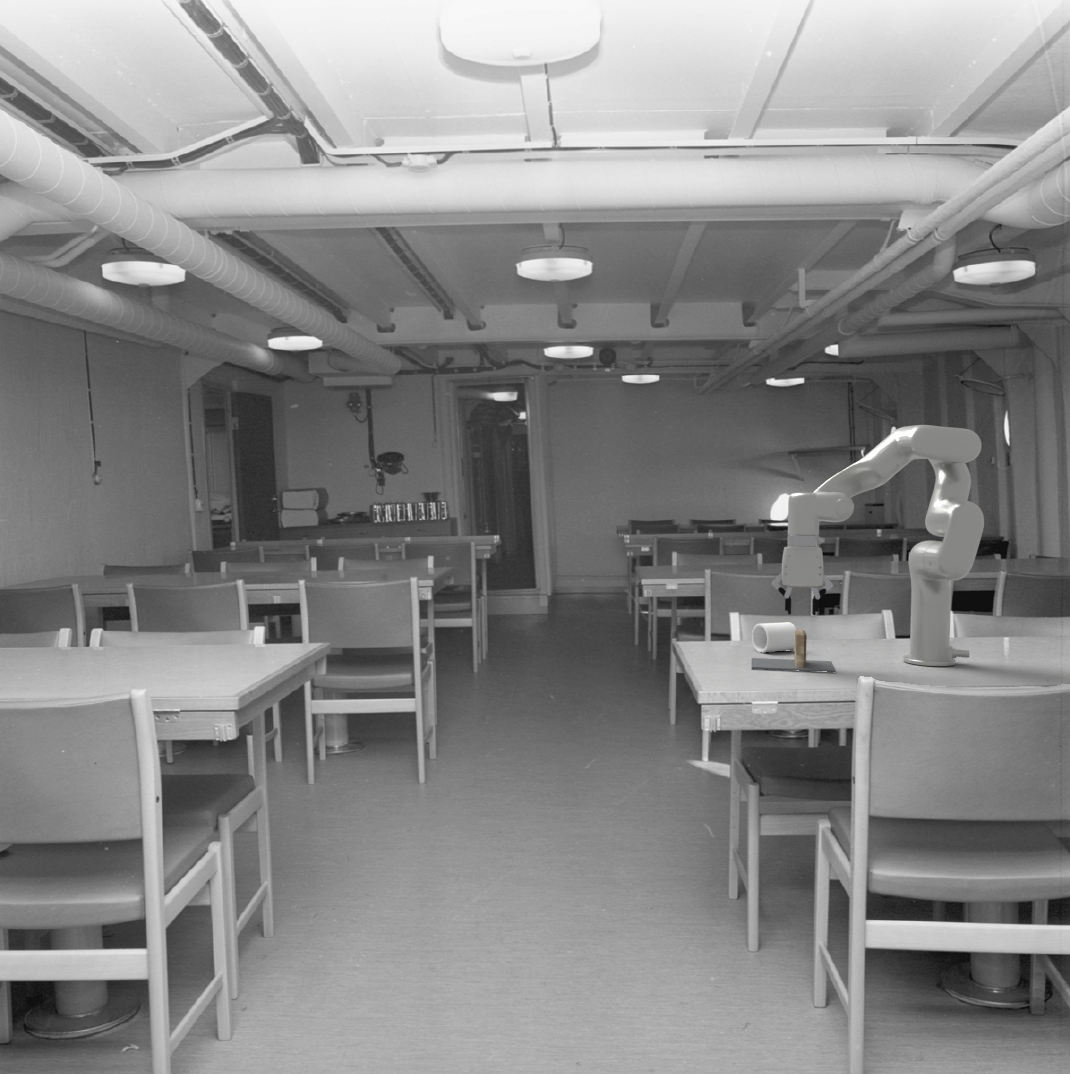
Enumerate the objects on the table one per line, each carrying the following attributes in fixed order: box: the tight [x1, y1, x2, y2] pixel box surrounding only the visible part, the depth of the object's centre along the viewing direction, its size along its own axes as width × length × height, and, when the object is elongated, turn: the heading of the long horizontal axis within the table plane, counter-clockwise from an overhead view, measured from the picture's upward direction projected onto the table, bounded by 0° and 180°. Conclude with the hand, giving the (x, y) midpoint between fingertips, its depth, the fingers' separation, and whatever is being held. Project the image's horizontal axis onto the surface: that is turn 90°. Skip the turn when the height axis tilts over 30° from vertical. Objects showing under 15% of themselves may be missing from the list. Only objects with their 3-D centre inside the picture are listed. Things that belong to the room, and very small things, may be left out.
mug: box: [751, 621, 798, 654], centre depth 276 cm, size 12×10×8 cm
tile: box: [793, 629, 807, 668], centre depth 250 cm, size 2×9×8 cm, turn 168°
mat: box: [751, 657, 837, 673], centre depth 251 cm, size 20×14×1 cm
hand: (801, 613), depth 250 cm, fingers open, 5 cm apart
